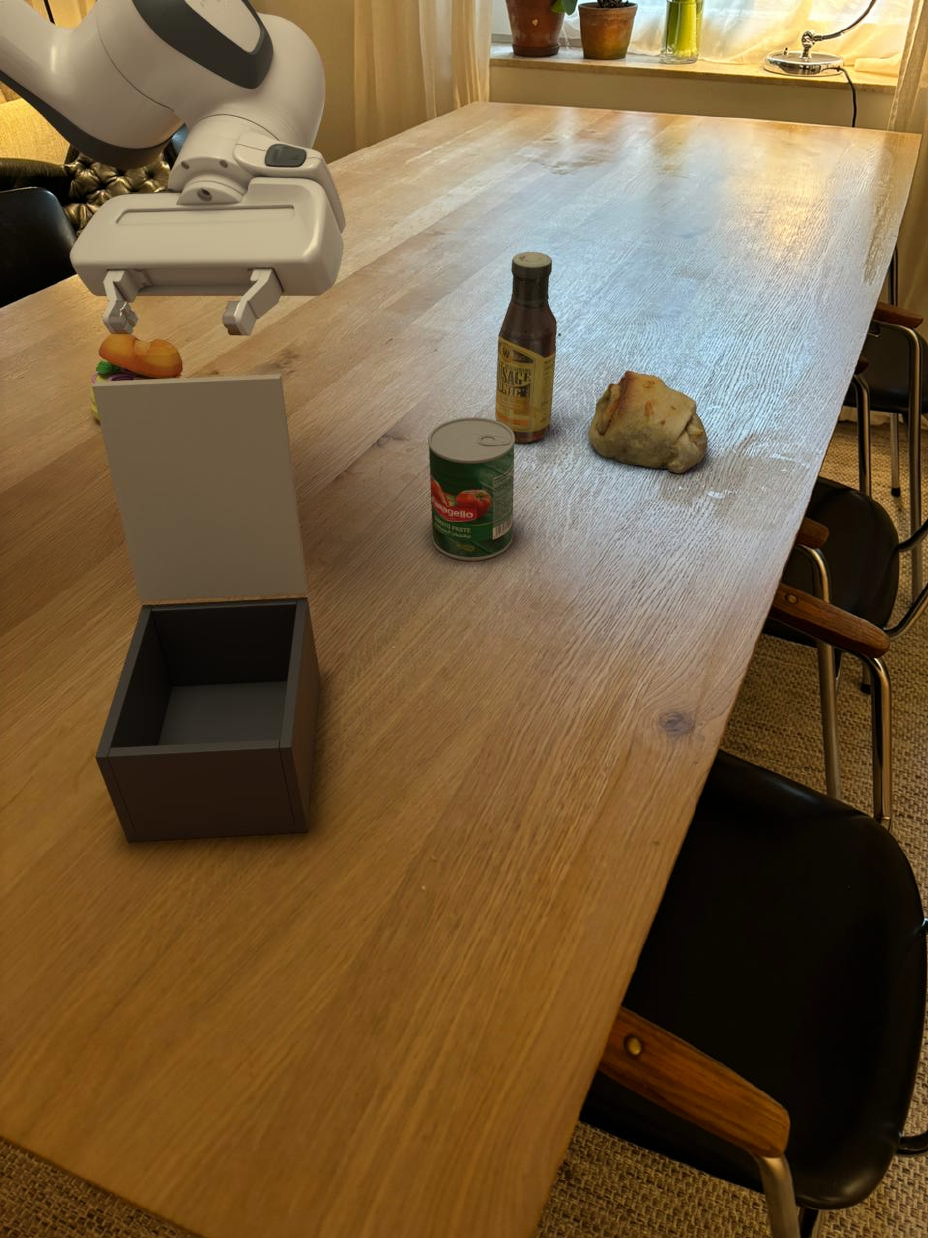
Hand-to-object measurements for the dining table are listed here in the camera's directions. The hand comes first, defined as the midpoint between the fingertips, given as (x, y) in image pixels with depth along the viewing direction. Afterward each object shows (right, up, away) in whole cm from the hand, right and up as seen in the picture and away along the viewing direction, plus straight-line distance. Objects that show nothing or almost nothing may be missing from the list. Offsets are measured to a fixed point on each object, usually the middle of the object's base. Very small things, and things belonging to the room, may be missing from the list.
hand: (174, 328), depth 70 cm
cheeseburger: (-18, +5, +49) cm, 53 cm away
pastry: (+40, -1, +40) cm, 57 cm away
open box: (+3, -31, +6) cm, 31 cm away
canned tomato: (+21, -13, +27) cm, 37 cm away
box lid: (+2, -12, +1) cm, 12 cm away
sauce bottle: (+27, +1, +43) cm, 51 cm away
